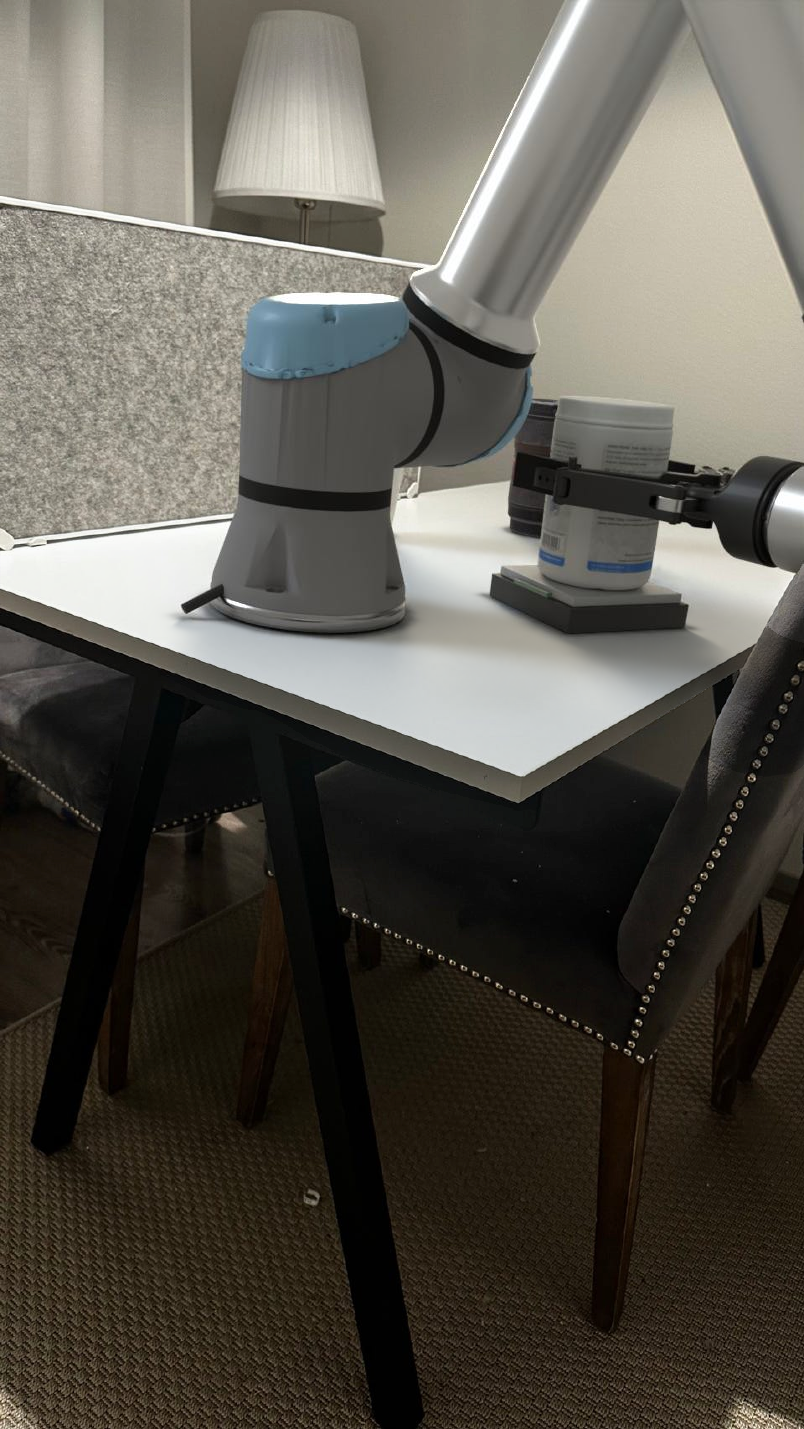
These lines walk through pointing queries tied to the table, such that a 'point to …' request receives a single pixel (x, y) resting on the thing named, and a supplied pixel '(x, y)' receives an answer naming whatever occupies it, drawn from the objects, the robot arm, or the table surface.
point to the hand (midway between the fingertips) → (576, 468)
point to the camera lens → (538, 441)
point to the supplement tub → (594, 539)
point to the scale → (587, 603)
